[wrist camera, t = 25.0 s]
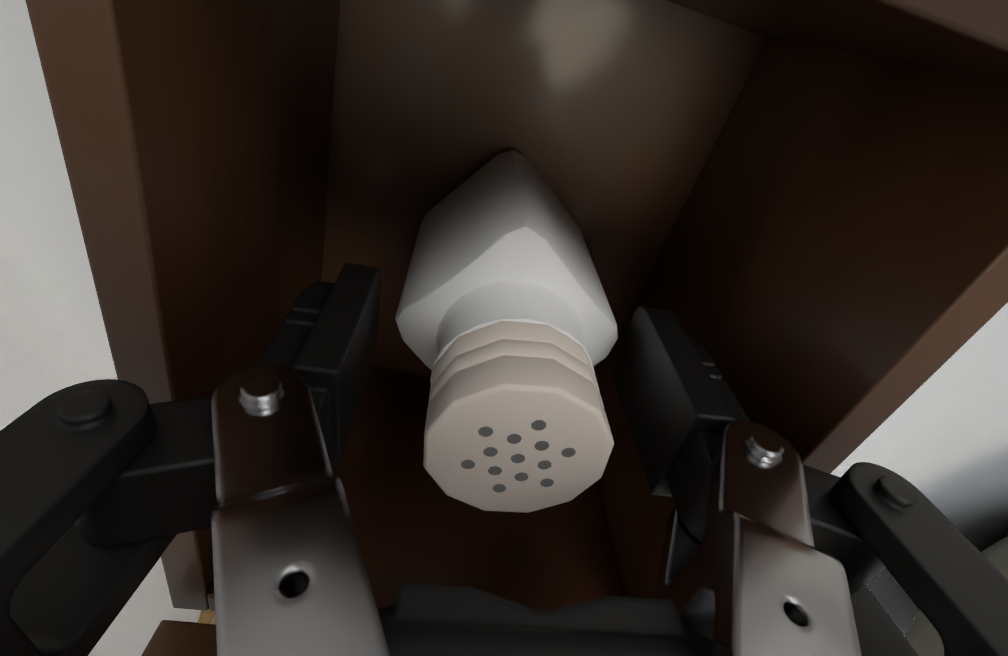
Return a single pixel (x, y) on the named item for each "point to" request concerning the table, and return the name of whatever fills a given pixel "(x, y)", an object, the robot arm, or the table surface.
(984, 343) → the table surface
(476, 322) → the pepper shaker
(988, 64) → the compartment
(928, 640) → the bowl
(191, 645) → the lid
